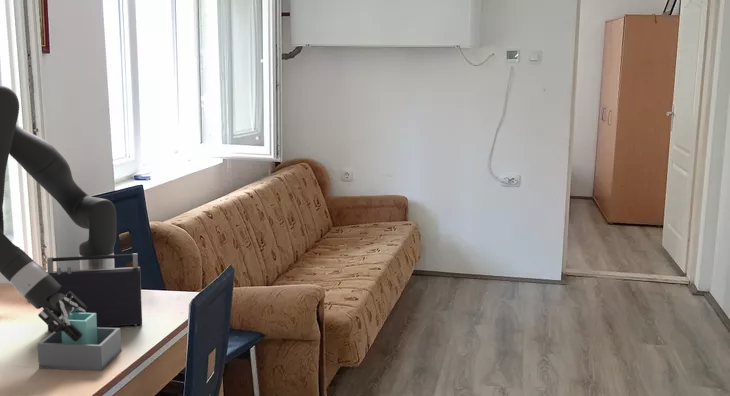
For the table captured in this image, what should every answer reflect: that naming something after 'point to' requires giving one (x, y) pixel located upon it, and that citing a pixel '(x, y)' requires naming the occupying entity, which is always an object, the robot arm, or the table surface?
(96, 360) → the big crate
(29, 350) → the table surface
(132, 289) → the radio
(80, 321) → the box
